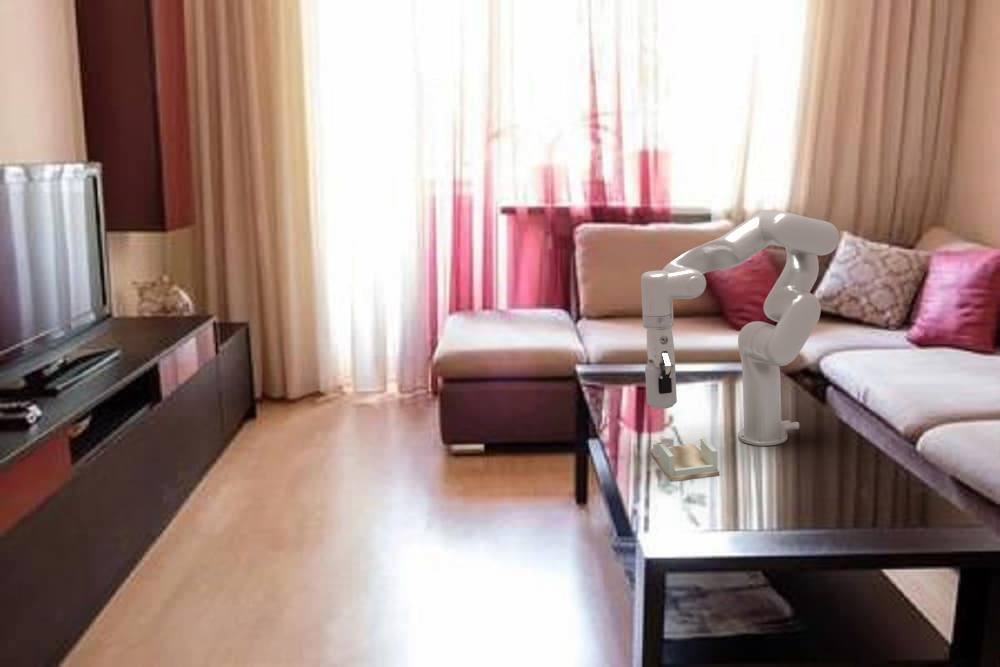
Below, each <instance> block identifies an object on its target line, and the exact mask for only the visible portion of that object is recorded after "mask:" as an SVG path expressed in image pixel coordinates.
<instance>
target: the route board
mask: <svg viewBox="0 0 1000 667" xmlns="http://www.w3.org/2000/svg"><path fill="white" fill-rule="evenodd" d="M649 454H650V456H652V458H653V459H654V461H655V462H656V463H657V465H658V466H659V467H660V469H661V470H662V471H663V473H664V474H665V476H666V477H667V478H668V479H669V481H670V482H677V481H678V482H679V481H685V480H687V481H688V480H694V479H702V478H709V477H710V478H712V477H717V476H716V475H719V476H720V470H719V469H718V470H715V471H714V472H708V473H700V474H692V475H684V476H670V475H669V474H668V473H667V471H666V470H665V469H664V467H663V466H662V465H661V464H660V459H659V458H657V457H655V456H653V448H652V449H649ZM704 465H707V464H706V462H705V461H704V460H703V459H702V458H701V449H699V448H698V446H696V444H686V445H678V446H677V445H676V446H674V468H675V469H680V468H688V467H696V466H704Z"/></svg>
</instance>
